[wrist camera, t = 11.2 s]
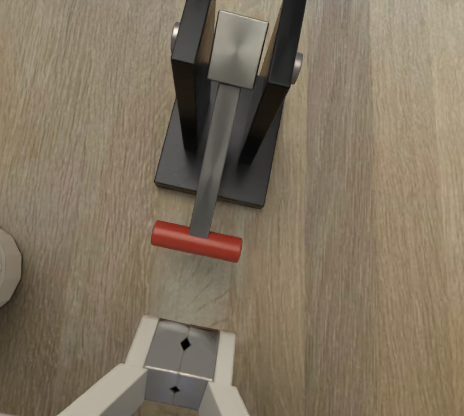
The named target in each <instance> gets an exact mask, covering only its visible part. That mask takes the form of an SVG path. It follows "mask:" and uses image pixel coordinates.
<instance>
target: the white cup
mask: <svg viewBox="0 0 464 416" xmlns="http://www.w3.org/2000/svg"><path fill="white" fill-rule="evenodd" d="M21 257H22V256H21V253H20V251H19V249H18V247H17V245H16V243H15V241H14V239H13V237H12V236H11V235H10V234H8V233H7V232H5V231H4V230H2V229H1V228H0V307H1V306H3V305H4V304H5V303H6V302H7V301H9V300H10V298H11V296H12V294H13V292H14V290H15V288H16V287H17V285H18V283H19V281H20V279H21Z"/></svg>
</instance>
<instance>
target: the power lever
mask: <svg viewBox="0 0 464 416" xmlns="http://www.w3.org/2000/svg"><path fill="white" fill-rule="evenodd" d="M268 26H269V23H268V22H266V21H262V20H258V19H254V18H250V17H246V16H242V15H239V14H235V13H231V12H227V11H223V10H219V12H218V17H217V23H216V28H215V33H214V39H213V44H212V49H211V55H210V60H209V66H208V71H207V76H206V78H207V79H208V80H211V81H214V82H218V83H219V84H218V89H217V94H216V99H215V104H214V109H213V114H212V119H211V124H210V129H209V134H208V139H207V144H206V149H205V154H204V159H203V164H202V169H201V174H200V179H199V184H198V189H197V194H196V199H195V204H194V209H193V214H192V219H191V224H190V227H187V226H182V225H178V224H173V223H169V222H164V221H159V220H158V221H156V223H155V225H154V228H153V232H152V237H151V244H152V245H154V246H159V247H164V248H168V249H173V250H178V251H183V252H187V253H192V254H197V255H202V256H206V257H211V258H216V259H221V260H225V261H230V262H235V263H237V262H238V260H239V257H240V254H241V249H242V238H238V237H234V236H229V235H224V234H220V233H215V232H210V227H211V223H212V218H213V214H214V209H215V205H216V200H217V196H218V191H219V187H220V182H221V178H222V173H223V169H224V164H225V160H226V155H227V151H228V146H229V142H230V137H231V133H232V128H233V124H234V119H235V114H236V110H237V105H238V101H239V96H240V92H241V88H243V89H247V90H253V89H254V85H255V81H256V77H257V73H258V68H259V64H260V60H261V55H262V51H263V47H264V43H265V38H266V34H267V30H268Z"/></svg>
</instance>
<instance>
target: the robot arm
mask: <svg viewBox="0 0 464 416" xmlns="http://www.w3.org/2000/svg"><path fill="white" fill-rule="evenodd" d="M235 342H236V336H235V333H230V332H225V331H220V330H217V329H212V328H207V327H201V326H196V325H191V324H190V325H189V324H185V323H180V322H176V321H171V320H166V319H162V318H158V317H154V316H149V315H144V316H143V317H142V319H141V321H140V324H139V326H138V329H137V332H136V334H135V337H134V340H133V342H132V345H131V348H130V350H129V353H128V356H127V358H126V361H125V363H124V364H122V363H119V364H118V365H117V366H115V367H114V368H113V369H112V370H111V371H109V372H108V373H107V374H106V375H105V376H104V377H102V378H101V379H100V380H99V381H98V382H96V383H95V384H94V385H93V386H92V387H90V388H89V389H88V390H87V391H86V392H84V393H83V394H82V395H81V396H80V397H79V398H77V399H76V400H75V401H74V402H73V403H71V404H70V405H69V406H68V407H67V408H65V409H64V410H63V411H62V412H61V413H59V414H58V415H57V416H131V415H132V414H133V413H134V412H135V411H136V410H137V409H138V408H139V407H140V406H141V404H142V403H143V402H144V400H149V401H155V402H161V403H167V404H172V405H177V406H181V407H186V408H190V409H194V410H198V414H199V416H250V415H249V413H248V411H247V409H246V407H245V404H244V402H243V400H242V398H241V396H240V394H239V391H238V389H237V387H235V386H232V377H233V365H234V353H235Z"/></svg>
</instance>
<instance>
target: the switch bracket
mask: <svg viewBox="0 0 464 416" xmlns="http://www.w3.org/2000/svg"><path fill="white" fill-rule="evenodd" d="M215 5H216V0H186V3H185V7H184V11H183V14H182V18H181V22H180V23H179V22H176V23H175V25H174V28H173V32H172V37H171V53H172V55H171V64H172V71H173V78H174V85H175V92H176V99H175V103H174V106H173V110H172V114H171V118H170V122H169V126H168V129H167V133H166V137H165V141H164V145H163V149H162V153H161V156H160V160H159V164H158V168H157V172H156V176H155V180H154V183H155V185H156V186H158V187H163V188H167V189H172V190H176V191H181V192H185V193H190V194H194V195H196V194H197V189H198V184H199V179H200V174H201V169H202V164H203V159H204V154H205V149H206V144H207V139H208V134H209V129H210V124H211V119H212V114H213V109H214V104H215V99H216V94H217V89H218V84H219V83H218V82H214V81H211V80H208V79H207V78H206V76H207V71H208V66H209V60H210V55H211V49H212V44H213V39H214V23H215ZM305 6H306V0H283V1H282V5H281V8H280V11H279V14H278V17H277V21H276V24H275V27H274V30H273V34H272V37H271V40H270V43H269V46H268V50H267V53H266V56H265V59H264V63H263V66H262V69H261V72H260V75H259V76H258V75H257V77H256V81H255V85H254V89H253V90H247V89H243V88H241V92H240V96H239V101H238V105H237V110H236V114H235V119H234V124H233V128H232V133H231V137H230V142H229V146H228V151H227V155H226V160H225V164H224V169H223V173H222V178H221V182H220V187H219V191H218V196H217V200H222V201H226V202H231V203H235V204H240V205H244V206H249V207H253V208H258V209H261V208H263V207H264V204H265V198H266V193H267V188H268V183H269V177H270V172H271V167H272V162H273V156H274V151H275V146H276V141H277V135H278V130H279V125H280V120H281V114H282V109H283V104H284V99H285V97H286V95H287V93H288V91H289V89H290V86H291V84H295V82H296V80H297V78H298V75H299V72H300V69H301V65H302V60H303V54H302V53H299V52H297V49H298V43H299V38H300V33H301V28H302V22H303V17H304V12H305Z"/></svg>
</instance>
